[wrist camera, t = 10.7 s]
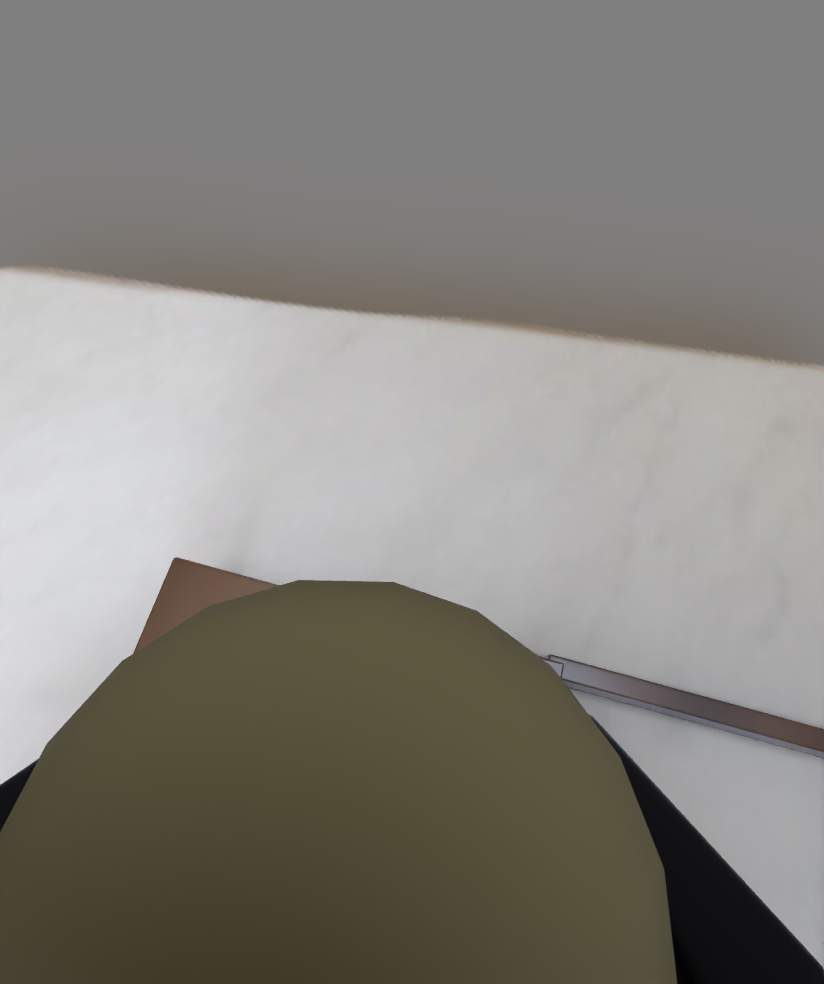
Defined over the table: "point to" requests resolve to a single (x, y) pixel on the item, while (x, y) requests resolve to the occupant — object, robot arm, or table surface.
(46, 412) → the table surface
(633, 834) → the olive green pawn
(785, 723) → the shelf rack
